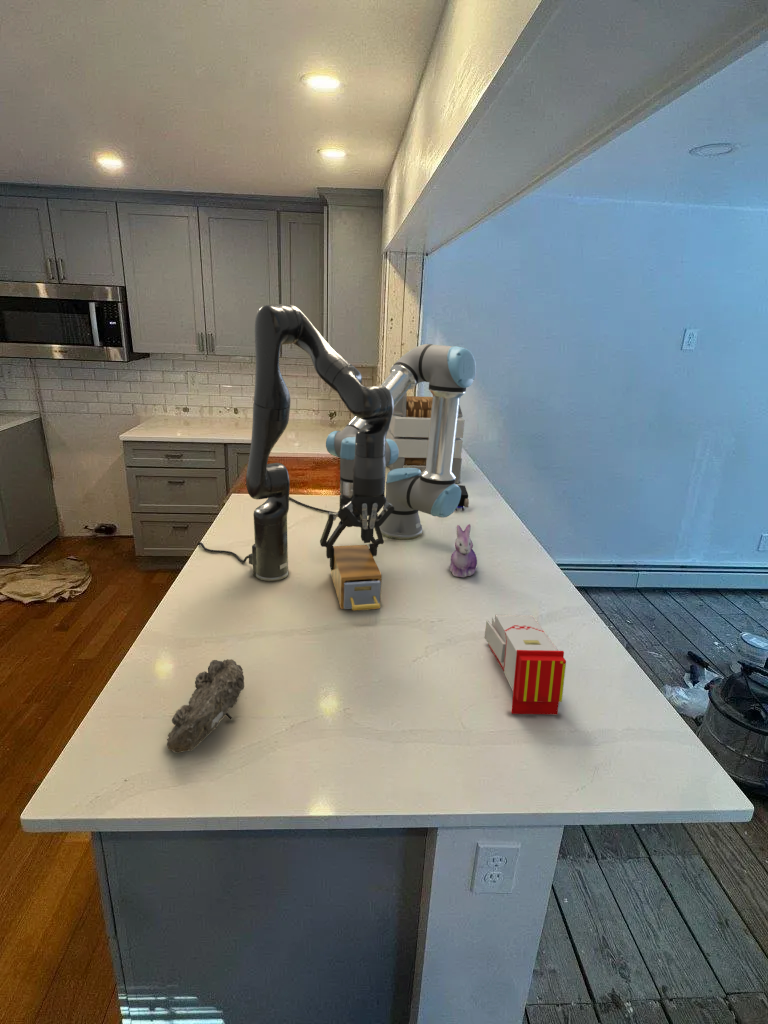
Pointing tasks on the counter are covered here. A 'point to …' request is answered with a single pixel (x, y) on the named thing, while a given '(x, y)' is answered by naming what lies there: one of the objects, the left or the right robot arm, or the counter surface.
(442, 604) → the counter surface
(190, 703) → the fossil
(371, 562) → the cabinet
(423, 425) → the white slatted crate
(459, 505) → the figurine character
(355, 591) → the drawer
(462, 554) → the figurine
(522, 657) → the toy
